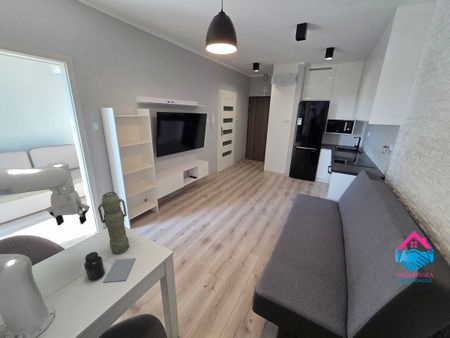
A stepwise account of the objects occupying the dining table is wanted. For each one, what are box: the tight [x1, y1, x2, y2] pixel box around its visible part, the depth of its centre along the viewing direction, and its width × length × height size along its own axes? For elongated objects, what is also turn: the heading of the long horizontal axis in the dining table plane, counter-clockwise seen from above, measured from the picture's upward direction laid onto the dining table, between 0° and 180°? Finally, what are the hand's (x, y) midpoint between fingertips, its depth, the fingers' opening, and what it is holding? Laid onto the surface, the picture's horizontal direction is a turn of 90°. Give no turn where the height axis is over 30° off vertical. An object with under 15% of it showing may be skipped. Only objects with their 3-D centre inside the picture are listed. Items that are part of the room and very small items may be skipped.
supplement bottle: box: [83, 251, 106, 282], centre depth 85 cm, size 7×7×12 cm
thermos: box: [97, 191, 130, 256], centre depth 98 cm, size 9×12×35 cm
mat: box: [102, 257, 136, 284], centre depth 90 cm, size 13×10×1 cm
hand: (72, 223), depth 85 cm, fingers open, 9 cm apart
